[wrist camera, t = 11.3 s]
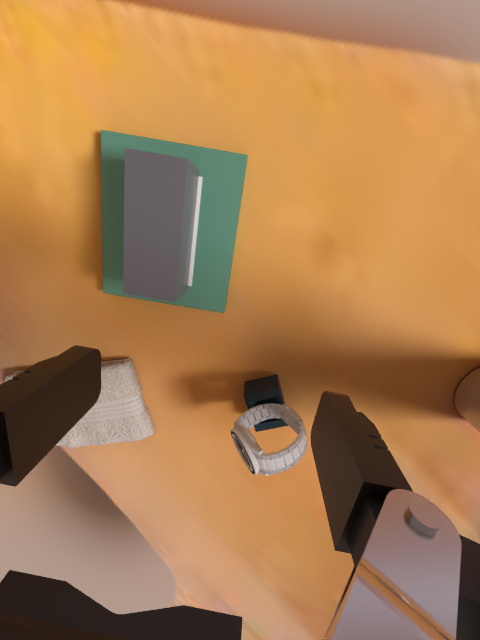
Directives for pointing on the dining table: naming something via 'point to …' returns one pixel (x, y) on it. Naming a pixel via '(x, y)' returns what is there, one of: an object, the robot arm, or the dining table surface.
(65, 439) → the washcloth
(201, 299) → the board
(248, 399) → the watch
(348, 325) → the dining table surface
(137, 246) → the grey rectangular block
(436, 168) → the dining table surface
